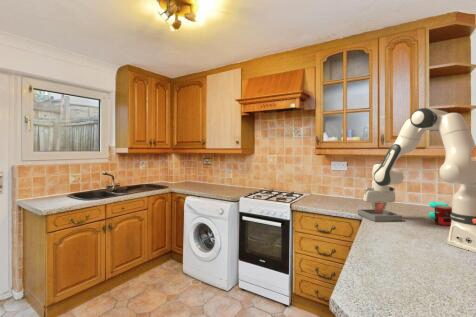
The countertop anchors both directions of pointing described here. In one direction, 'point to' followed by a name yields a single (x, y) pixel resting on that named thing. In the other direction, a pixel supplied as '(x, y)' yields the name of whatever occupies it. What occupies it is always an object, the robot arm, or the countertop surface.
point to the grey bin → (379, 215)
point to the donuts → (434, 207)
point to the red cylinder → (379, 207)
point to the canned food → (443, 215)
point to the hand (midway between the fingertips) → (378, 208)
